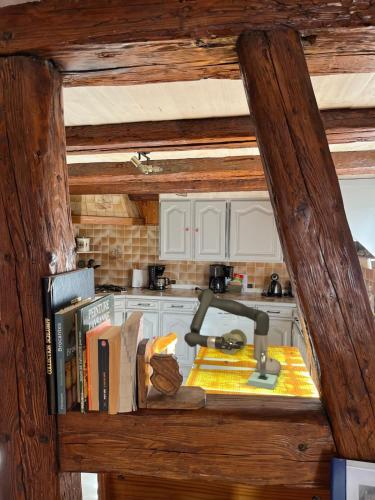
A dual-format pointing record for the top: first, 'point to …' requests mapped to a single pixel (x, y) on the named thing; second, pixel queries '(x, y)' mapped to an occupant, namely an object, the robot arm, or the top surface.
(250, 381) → the block
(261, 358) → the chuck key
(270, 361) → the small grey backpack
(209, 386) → the top surface
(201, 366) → the top surface
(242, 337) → the spool
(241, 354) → the top surface
